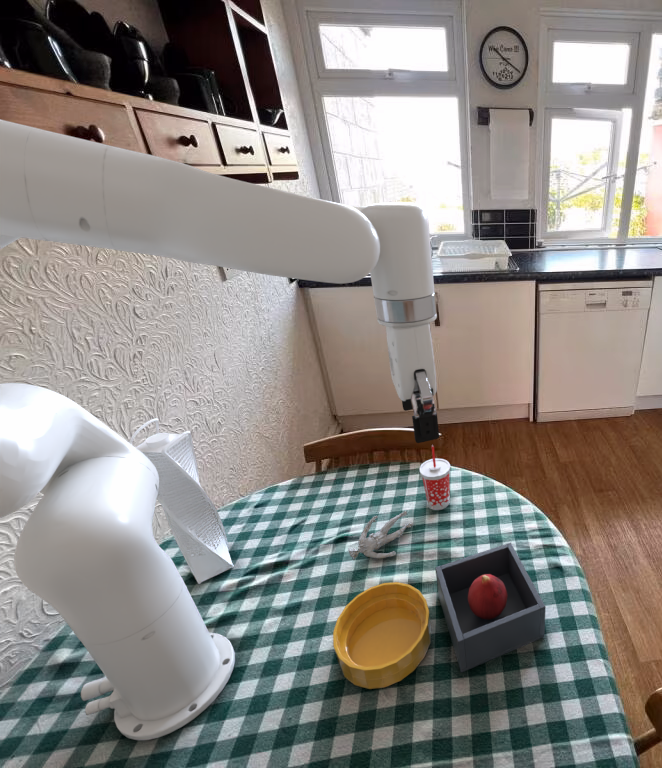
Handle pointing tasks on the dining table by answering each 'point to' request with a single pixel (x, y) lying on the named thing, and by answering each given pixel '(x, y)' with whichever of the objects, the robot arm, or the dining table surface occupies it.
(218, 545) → the skyscraper
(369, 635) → the bowl
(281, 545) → the dining table surface
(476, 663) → the bin
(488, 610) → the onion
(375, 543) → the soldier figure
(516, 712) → the dining table surface
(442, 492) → the beverage cup
